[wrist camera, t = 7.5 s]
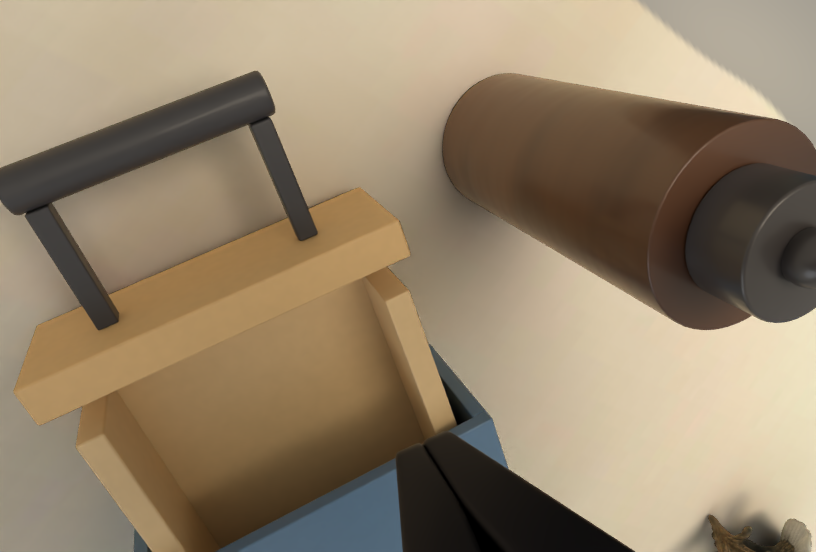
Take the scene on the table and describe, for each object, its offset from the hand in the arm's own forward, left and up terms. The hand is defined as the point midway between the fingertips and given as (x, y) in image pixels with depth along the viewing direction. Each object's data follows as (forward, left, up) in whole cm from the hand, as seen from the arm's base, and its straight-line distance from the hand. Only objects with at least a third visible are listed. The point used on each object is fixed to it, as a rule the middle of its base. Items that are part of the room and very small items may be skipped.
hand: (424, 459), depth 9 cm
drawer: (-4, +4, -13) cm, 14 cm away
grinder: (-4, -8, -14) cm, 17 cm away
